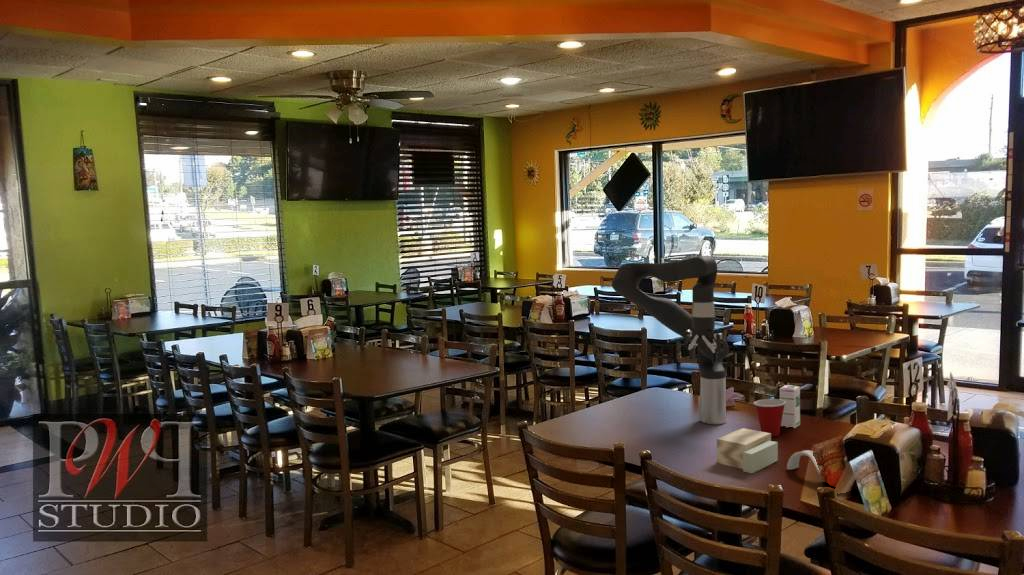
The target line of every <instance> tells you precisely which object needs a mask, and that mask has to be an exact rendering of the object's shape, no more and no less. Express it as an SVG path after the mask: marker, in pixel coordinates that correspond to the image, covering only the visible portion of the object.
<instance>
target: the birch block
mask: <svg viewBox="0 0 1024 575" xmlns="http://www.w3.org/2000/svg"><path fill="white" fill-rule="evenodd" d="M767 441H772V437H771V433H766V432H761V430H756V429H755V430H754V429H751V428H750V429H749V428H744V427H742V428H740V429H737V430H734V431H732V432H730V433H727V434H725V435H723V436H721V437H718V438H717V439H716V463H717V464H719V465H725V466H729V467H733V468H738V469H740V470H743V452H744V451H747V450H749V449H751V448H753V447H755V446H758V445H760V444H762V443H764V442H767Z"/></svg>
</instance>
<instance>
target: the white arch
mask: <svg viewBox="0 0 1024 575" xmlns="http://www.w3.org/2000/svg"><path fill="white" fill-rule="evenodd" d="M802 456H806V457H808V458H810V460H811V462H812V463H813V465H814V467H815V469H816V471H817V473H818V474H819V473H820V470H819V468H818V465H817V462H816V459H815V457H814V456H813V450H809V449H807V450H806V449H805V450H802V451H796V452H794V453H793V454H792V455H791V456H790V457H789V459H788V461H787V464H786V470H788V471H790V470H795V469H799V467H800V459H801V457H802Z"/></svg>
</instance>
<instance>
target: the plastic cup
mask: <svg viewBox="0 0 1024 575" xmlns="http://www.w3.org/2000/svg"><path fill="white" fill-rule="evenodd" d="M785 403H786V401H784V400H780V398H777V399H776V398H767V399H765V398H764V399H758V400H756V401H754V402H753V404H754V406H755V408H756V412H757V416H758V421H759V426H760V431H761V432H766V433H771V438H774V437H773V436H775V437H778V436H779V435H780V432H781V427H782V426H781V422H782V416H783V411H784V405H785Z"/></svg>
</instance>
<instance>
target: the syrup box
mask: <svg viewBox="0 0 1024 575" xmlns="http://www.w3.org/2000/svg"><path fill="white" fill-rule="evenodd" d="M779 399H780V400H784V401H786V403H785V405H784V411H783V416H782V422H781V427H783V426H785V427H784V428H789V427H793V428H792V429H796V428H797V427H799V426H801V386H797V385H790V384H784V386H782V387H780V388H779Z"/></svg>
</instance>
